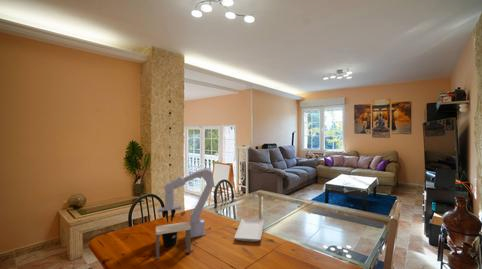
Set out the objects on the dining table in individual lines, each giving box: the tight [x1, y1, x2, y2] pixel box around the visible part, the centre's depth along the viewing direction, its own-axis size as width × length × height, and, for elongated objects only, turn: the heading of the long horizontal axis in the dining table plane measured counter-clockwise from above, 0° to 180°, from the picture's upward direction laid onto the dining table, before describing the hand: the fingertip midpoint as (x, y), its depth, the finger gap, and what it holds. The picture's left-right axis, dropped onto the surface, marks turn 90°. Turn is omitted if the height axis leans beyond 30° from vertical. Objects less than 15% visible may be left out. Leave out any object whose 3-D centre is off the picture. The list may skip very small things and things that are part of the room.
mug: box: [161, 231, 179, 248], centre depth 137 cm, size 12×9×10 cm
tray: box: [233, 218, 265, 242], centre depth 153 cm, size 17×31×4 cm, turn 171°
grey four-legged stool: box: [155, 221, 192, 260], centre depth 127 cm, size 18×8×14 cm, turn 113°
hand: (169, 221), depth 147 cm, fingers closed
